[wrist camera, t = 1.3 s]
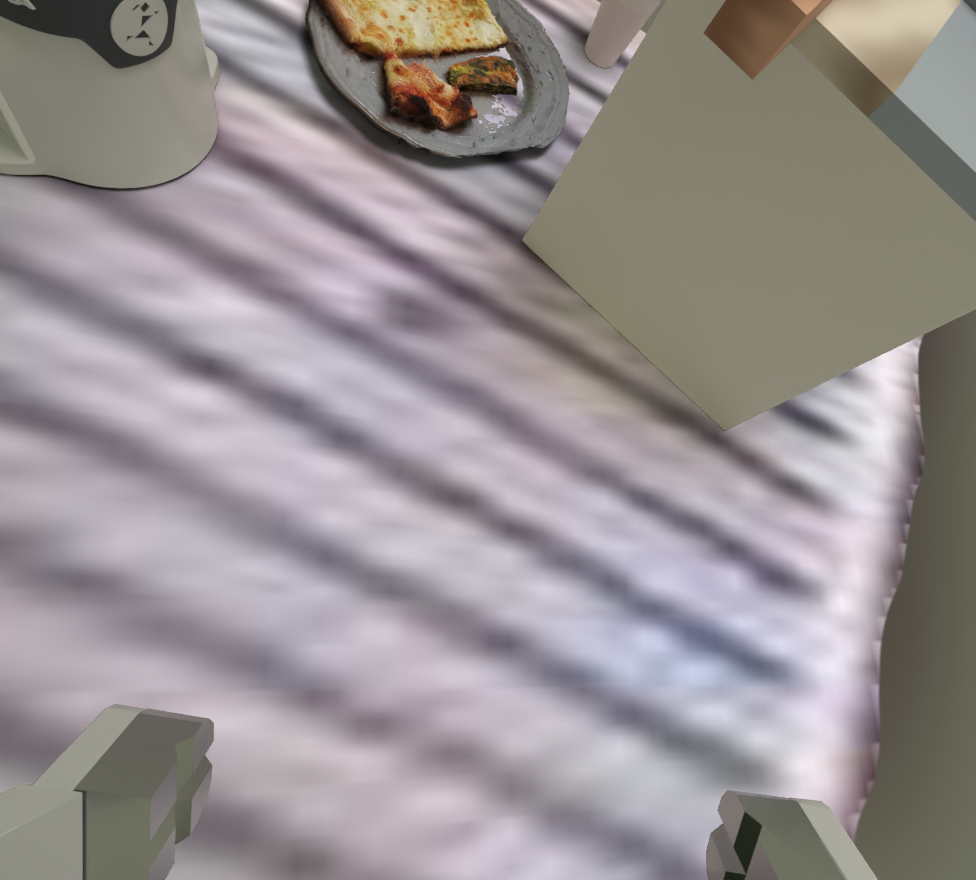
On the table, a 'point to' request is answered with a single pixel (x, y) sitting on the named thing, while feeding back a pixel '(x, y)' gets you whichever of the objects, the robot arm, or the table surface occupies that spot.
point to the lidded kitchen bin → (777, 199)
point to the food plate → (442, 70)
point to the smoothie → (616, 28)
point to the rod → (760, 29)
